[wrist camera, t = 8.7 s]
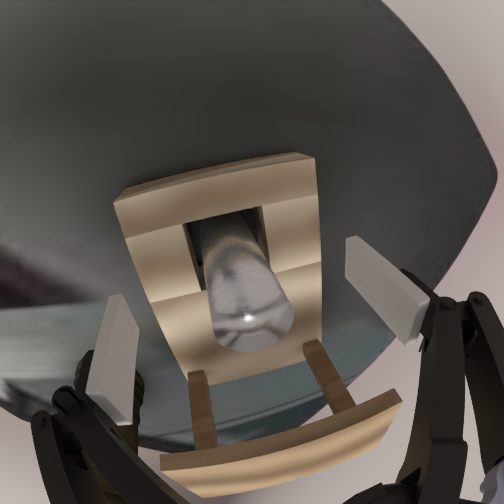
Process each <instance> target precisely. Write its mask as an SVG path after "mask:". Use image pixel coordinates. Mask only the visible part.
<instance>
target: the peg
mask: <svg viewBox="0 0 504 504" xmlns="http://www.w3.org/2000/svg"><path fill="white" fill-rule="evenodd" d="M199 235H200V244H201V252H202V260H203V267H204V275H205V282H206V289H207V296H208V302H209V309H210V315H211V322H212V328H213V333H214V335H215V337H216V339H217V340H218V342H219V343H220V344H222V345H223V346H224V347H226V348H228V349H230V350H233V351H237V352H255V351H260V350H263V349H266V348H268V347H270V346H272V345H274V344H276V343H277V342H278V341H280V340H281V339H282V338H283V337H284V336H285V335H286V334H287V332H288V331H289V329H290V327H291V325H292V323H293V318H294V311H293V307H292V305H291V303H290V301H289V299H288V297H287V296H286V294H285V292H284V290H283V288H282V287H281V285H280V283H279V281H278V280H277V278H276V276H275V274H274V272H273V271H272V269H271V267H270V265H269V263H268V262H267V260H266V258H265V256H264V255H263V253H262V251H261V249H260V247H259V246H258V244H257V242H256V240H255V239H254V237H253V235H252V233H251V232H250V230H249V228H248V226H247V225H246V223H245V221H244V219H243V218H242V216H241V215H240V214H239V213H237V212H236V211H235V212H230V213H226V214H221V215H217V216H213V217H208V218H204V219H203V220H202V222H201V224H200V228H199Z"/></svg>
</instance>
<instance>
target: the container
mask: <svg viewBox="0 0 504 504" xmlns="http://www.w3.org/2000/svg"><path fill="white" fill-rule="evenodd" d="M81 364H82V361H81V362H80V363H79V365H78V366H77V369H76V378H75V380H74V386H75V389H76V384H77V380H78V376H79V372H80V368H81ZM143 395H144V384H143V381H142V379H141V377H140V376H139V375H138V373H137V372H135V378H134V394H133V415H132V424H131V425H117V424H116V423H115V422H114V421H113V420H112V422H111V427H112V428H113V429H114V430H115V431H116V432H117V433H118V434H119V436H120V437H121V438H122V439H123V440H124V441H125V442H126V444H127V445H128V446H129V447H130V448H131V449H132V450H133V451H134V452H135V453H136V454H137V455H138V425H139V423H140V416H139V410H140V407H141V405H142V403H143ZM86 454H87V453H86ZM87 456H88V454H87ZM88 459H89V461H90V464H91V466H92V469H93V471H94V473H95V476H96V478H97V480H98V482H99V485H100V487H101V489H102V491H103V493H104V495H105V497H106V499H107V501H108V503H109V504H127V503H126V502H125V501H124V500H123V499H122V497H121V496H120V495H119V494H118V493H117V492H116V491H115V489H114V488H113V487H112V486H111V485H110V483H109V482H108V481H107V480H106V478H105V477H104V476H103V475H102V473H101V472H100V471H99V469H98V468H97V467H96V465H95V464H94V463H93V461H92V460H91V458H90V457H89V456H88Z"/></svg>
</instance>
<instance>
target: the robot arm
mask: <svg viewBox="0 0 504 504" xmlns="http://www.w3.org/2000/svg"><path fill="white" fill-rule="evenodd" d="M345 278H346V279H347V280H348V281H349V282H350V283H351V284H352V285H353V286H354V288H355V289H356V290H357V291H358V292H359V293H360V294H361V295H362V297H363V298H364V299H365V300H366V301H367V302H368V303H369V304H370V306H371V307H372V308H373V309H374V310H375V311H376V313H377V314H378V315H379V316H380V317H381V318H382V320H383V321H384V322H385V323H386V324H387V325H388V327H389V328H390V329H391V330H392V331H393V333H394V334H395V335H396V336H397V337H398V338H399V340H400V341H401V342H402V343H403V344H404V346H405V347H406V346H408V345H410V344H412V343H414V342H416V341H417V339H418V336H419V333H421V334H422V335H423V336H424V338H423V340H422V343H421V346H420V349H419V352H421V349H422V355H421V368H420V378H419V387H418V395H417V402H416V409H415V414H414V420H413V426H412V431H411V436H410V441H409V445H408V449H407V453H406V457H405V461H404V463H403V465H402V467H401V469H400V471H399V473H398V476H397V479H396V482H395V484H386V485H382V483H379V484H377V485H375V486H373V487H371V488H369V489H367V490H365V491H362V492H360V493H358V494H356V495H354V496H353V497H351V498H350V499H348V500H347V501H346V502H344V503H343V504H504V328H503V326H502V324H501V322H500V320H499V318H498V316H497V314H496V312H495V310H494V308H493V306H492V304H491V302H490V301H489V299H488V298H487V296H486V295H485V294H483V293H481V292H476V291H474V292H471V293H470V294H469V296H468V299H467V301H461V302H456V301H455V300H454V299H452V298H450V297H439V296H438V295H437V294H435V293H434V292H433V291H432V290H431V289H430V288H429V287H428V286H426V285H425V284H424V283H422V281H421V280H420V279H418V278H417V277H416V276H415V275H414V274H413V273H411V272H409V271H407V270H405V269H401V270H398V269H397V268H396V267H395V266H393V265H392V264H391V263H390V262H389V261H388V260H386V259H385V258H384V257H383V256H382V255H380V254H379V253H378V252H377V251H375V250H374V249H373V248H372V247H371V246H369V245H368V244H367V243H366V242H364V241H363V240H362V239H361V238H359V237H358V236H357V235H356V236H353V237H349V238H346V260H345ZM138 337H139V327H138V325H137V323H136V322H135V320H134V318H133V316H132V314H131V312H130V310H129V308H128V305H127V303H126V301H125V299H124V297H123V295H122V293H120V294H115V295H111V296H110V297H109V300H108V303H107V307H106V310H105V313H104V317H103V320H102V324H101V327H100V331H99V335H98V338H97V342H96V346H95V350H89V351H87V353H86V354H85V356H84V357H83V360H82V364H81V368H80V372H79V376H78V380H77V384H76V389H75V390H74V389H73V388H72V387H71V386H62V387H60V388H59V389H57V390H56V391H55V393H54V395H53V397H52V406H53V407H54V408H55V409H56V410H57V411H58V412H59V413H56V414H54V415H50V414H49V413H48V412H47V411H45V410H40V411H38V412H36V413H35V414H34V416H33V417H32V420H31V430H32V435H33V441H34V446H35V451H36V455H37V460H38V464H39V468H40V471H41V475H42V479H43V482H44V485H45V489H46V491H47V495H48V498H49V501H50V503H51V504H109V503H108V501H107V499H106V497H105V495H104V493H103V491H102V489H101V487H100V485H99V482H98V480H97V478H96V476H95V473H94V471H93V469H92V466H91V464H90V461H89V459H88V456H89V457H90V458H91V460H92V461H93V463H94V464H95V465H96V467H97V468H98V469H99V471H100V472H101V473H102V475H103V476H104V477H105V478H106V480H107V481H108V482H109V483H110V485H111V486H112V487H113V488H114V489H115V491H116V492H117V493H118V494H119V495H120V496H121V497H122V499H123V500H124V501H125V502H126V503H127V504H190V503H189V502H188V501H187V500H185V499H184V498H183V497H182V496H181V495H179V494H178V493H177V492H176V491H175V490H173V489H172V488H171V487H170V486H169V485H168V484H167V483H165V482H164V481H163V480H162V479H161V478H160V477H159V476H158V475H157V474H156V473H154V471H153V470H152V469H150V468H149V467H148V466H147V465H146V464H145V463H144V462H143V461H142V460H141V458H140V457H138V455H137V454H136V453H135V452H134V451H133V450H132V449H131V448H130V447H129V446H128V445H127V444H126V442H125V441H124V440H123V439H122V438H121V437H120V436H119V434H118V433H117V432H116V431H115V430H114V429H113V428H112V427H111V422H112V420H113V421H114V422H115V423H116V424H117V425H131V424H132V415H133V394H134V378H135V366H136V355H137V346H138ZM465 375H466V379H467V383H468V387H469V391H470V395H471V400H472V404H473V409H474V414H475V419H476V425H477V431H478V438H479V445H480V452H481V453H480V454H481V460H482V465H483V469H484V473H485V475H486V476H485V478H484V481H483V482H482V483H481V485H480V491H481V493H484V495H483V499H482V501H481V502H475V501H470V500H465V499H460V498H459V497H460V493H461V488H462V483H463V478H464V472H465V466H466V460H467V452H468V445H467V442H466V441H464V440H463V425H464V409H465ZM86 453H87V454H88V456H87V454H86Z"/></svg>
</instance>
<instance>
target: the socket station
mask: <svg viewBox="0 0 504 504" xmlns="http://www.w3.org/2000/svg"><path fill="white" fill-rule="evenodd" d="M113 204H114V207H115V210H116V214H117V217H118V220H119V223H120V226H121V229H122V232H123V235H124V238H125V241H126V243H127V246H128V249H129V252H130V255H131V257H132V260H133V263H134V265H135V268H136V270H137V273H138V276H139V278H140V281H141V283H142V285H143V288H144V290H145V293H146V295H147V298H148V300H149V302H150V305H151V307H152V309H153V311H154V314H155V316H156V318H157V320H158V323H159V325H160V327H161V329H162V331H163V333H164V335H165V338H166V340H167V342H168V344H169V346H170V348H171V350H172V352H173V354H174V356H175V358H176V360H177V362H178V364H179V366H180V368H181V369H182V371H183V373H184V375H185V377H186V379H187V381H188V386H189V397H190V408H191V417H192V426H193V434H194V442H195V450H196V451H190V452H182V453H173V454H161V455H160V467H161V471H162V472H163V473H164V474H166V475H167V476H168V477H170V478H171V479H173V480H174V481H176V482H178V483H179V484H181V485H182V486H184V487H185V488H187V489H189V490H191V491H192V492H194V493H195V494H197V495H199V496H200V497H202V498H208V497H216V496H223V495H229V494H236V493H241V492H246V491H251V490H256V489H260V488H265V487H269V486H273V485H277V484H281V483H285V482H288V481H292V480H295V479H298V478H302V477H304V476H307V475H311V474H314V473H316V472H320V471H322V470H325V469H328V468H331V467H333V466H336V465H338V464H340V463H343V462H346V461H348V460H350V459H353V458H355V457H357V456H359V455H362V454H364V453H366V452H368V451H370V450H373V449H375V448H376V447H377V446H378V444H379V443H380V441H381V439H382V438H383V436H384V434H385V433H386V431H387V429H388V427H389V426H390V424H391V422H392V420H393V419H394V417H395V415H396V413H397V411H398V409H399V407H400V406H401V404H402V399H401V398H400V396H399V395H398V393H397V392H396V390H395V389H394V388H393V389H391V390H389V391H387V392H385V393H383V394H381V395H379V396H377V397H374V398H372V399H370V400H368V401H366V402H363V403H361V404H359V405H357V406H356V404H355V402H354V400H353V399H352V397H351V395H350V394H349V392H348V390H347V388H346V386H345V385H344V383H343V381H342V379H341V378H340V376H339V374H338V372H337V371H336V369H335V367H334V365H333V364H332V362H331V360H330V359H329V357H328V355H327V353H326V352H325V350H324V348H323V346H322V345H321V340H322V275H321V243H320V222H319V206H318V191H317V179H316V167H315V158H313V157H310V156H307V155H303V154H300V153H297V152H288V153H282V154H275V155H269V156H263V157H257V158H252V159H246V160H241V161H236V162H231V163H226V164H221V165H216V166H211V167H207V168H202V169H198V170H194V171H189V172H185V173H181V174H177V175H173V176H169V177H165V178H161V179H158V180H154V181H150V182H147V183H143V184H139V185H136V186H132V187H129V188H126V189H124V191H123V192H122V193H121V194H120V195H119V196H118V197H117V198H116V200H115V201H114V202H113ZM248 208H253V214H254V220H255V226H256V233H257V239H258V245H259V247H260V249H261V251H262V253H263V255H264V256H265V258H266V260H267V262H268V263H269V265H270V267H271V269H272V271H273V272H274V274H275V276H276V278H277V280H278V281H279V283H280V285H281V287H282V288H283V290H284V292H285V294H286V296H287V297H288V299H289V301H290V303H291V305H292V307H293V311H294V318H293V323H292V325H291V327H290V329H289V331H288V332H287V334H286V335H285V336H284V337H283V338H282V339H281V340H280V341H278V342H277V343H276V344H274V345H272V346H270V347H268V348H266V349H263V350H260V351H255V352H237V351H233V350H230V349H228V348H226V347H224V346H223V345H222V344H220V343H219V342H218V340H217V339H216V337H215V335H214V333H213V328H212V322H211V315H210V309H209V302H208V296H207V289H206V282H205V275H204V267H203V265H201V266H198V263H197V260H196V256H195V252H194V249H193V245H192V241H191V238H190V234H189V230H188V226H187V222H192V221H196V220H200V219H204V218H208V217H213V216H217V215H221V214H226V213H230V212H235V211H239V210H244V209H248ZM304 360H307V362H308V364H309V366H310V368H311V370H312V372H313V374H314V376H315V378H316V380H317V382H318V384H319V386H320V388H321V390H322V392H323V394H324V396H325V398H326V400H327V402H328V404H329V406H330V408H331V410H332V412H333V414H334V415H332V416H330V417H327V418H324V419H321V420H319V421H316V422H313V423H310V424H307V425H304V426H301V427H298V428H294V429H291V430H288V431H285V432H281V433H278V434H274V435H270V436H267V437H263V438H259V439H255V440H250V441H246V442H242V443H237V444H232V445H227V446H222V447H219V445H218V440H217V434H216V429H215V423H214V417H213V411H212V405H211V399H210V393H209V386H210V385H214V384H219V383H224V382H228V381H232V380H236V379H241V378H245V377H249V376H253V375H256V374H260V373H264V372H268V371H271V370H275V369H278V368H282V367H285V366H288V365H292V364H295V363H298V362H301V361H304Z"/></svg>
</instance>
